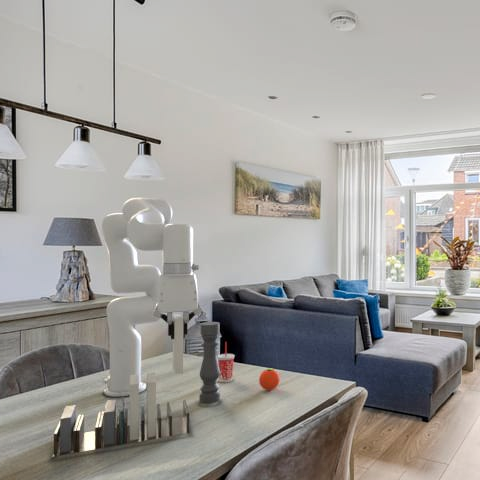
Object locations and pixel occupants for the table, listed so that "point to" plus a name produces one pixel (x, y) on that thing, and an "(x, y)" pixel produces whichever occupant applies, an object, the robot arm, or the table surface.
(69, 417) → the grey book
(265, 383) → the clementine
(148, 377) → the white book
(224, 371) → the beverage cup
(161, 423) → the book rack
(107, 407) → the grey book
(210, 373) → the candle holder
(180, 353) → the white book
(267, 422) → the table surface
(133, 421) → the white book
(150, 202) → the robot arm
